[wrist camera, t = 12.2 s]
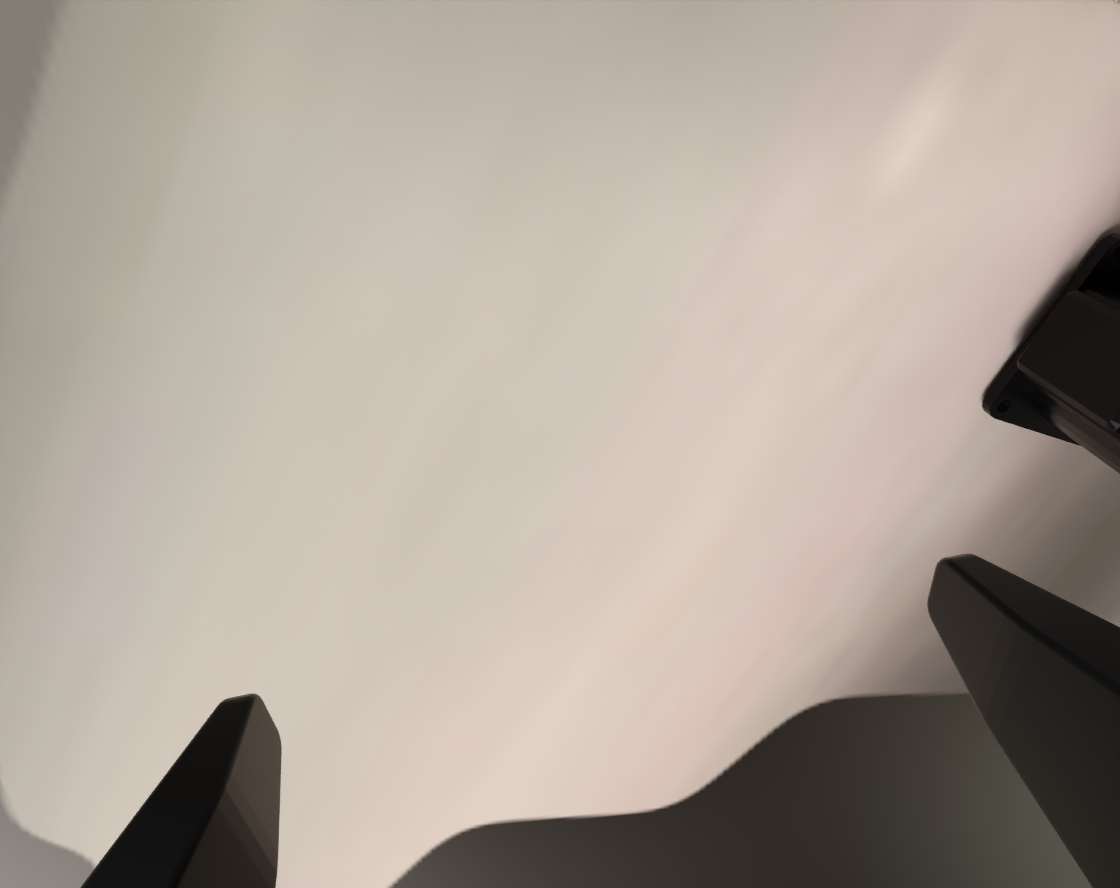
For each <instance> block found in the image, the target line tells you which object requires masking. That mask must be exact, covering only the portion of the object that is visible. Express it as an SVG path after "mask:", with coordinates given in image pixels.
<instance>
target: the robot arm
mask: <svg viewBox="0 0 1120 888" xmlns="http://www.w3.org/2000/svg"><path fill="white" fill-rule="evenodd" d="M1116 248H1117V249H1116ZM1115 249H1116V251H1115V253H1114V254H1112V253H1113V251H1114V250H1115ZM1001 401H1002V402H1001ZM1000 402H1001V403H1000ZM999 403H1000V404H999ZM998 404H999V405H998ZM982 407H983V409H984V411H985V412H987V413H988V414H989V415H991V416H992V417H993V418H995V419H998V420H1001V421H1005V422H1008V423H1011V424H1014V425H1017V426H1020V427H1023V428H1027V429H1030V430H1033V431H1036V432H1039V433H1042V434H1045V435H1048V436H1052V437H1055V438H1058V439H1061V440H1064V441H1067V442H1070V443H1073V444H1077V445H1080V446H1082V447H1084V448H1085V449H1087V450H1088V451H1089V452H1091V453H1092V454H1093V455H1095V456H1096V457H1097V458H1099V459H1100V460H1102V461H1103V462H1104V463H1106V464H1107V465H1108V466H1110V467H1111V468H1113V469H1114V470H1115V471H1117V472H1118V473H1119V474H1120V234H1116V233H1115V234H1112V235H1109V236H1107V237H1106V238H1104V239H1103V240H1102V241H1101V242H1100V243H1099V244H1098V245H1097V247H1096V248H1095V249H1094V251H1093V252H1092V253H1091V255H1090V256H1089V257H1088V259H1087V260H1086V262H1085V263H1084V264H1083V266H1082V267H1081V268H1080V270H1079V271H1078V272H1077V274H1076V275H1075V276H1074V278H1073V279H1072V280H1071V282H1070V283H1069V284H1068V286H1067V287H1066V289H1065V290H1064V291H1063V293H1062V294H1061V295H1060V297H1059V298H1058V299H1057V301H1056V302H1055V303H1054V305H1053V306H1052V307H1051V309H1050V310H1049V312H1048V313H1047V314H1046V316H1045V317H1044V318H1043V320H1042V321H1041V322H1040V324H1039V325H1038V326H1037V328H1036V329H1035V330H1034V332H1033V333H1032V335H1031V336H1030V337H1029V339H1028V340H1027V341H1026V343H1025V344H1024V345H1023V347H1022V348H1021V349H1020V351H1019V352H1018V353H1017V355H1016V356H1015V357H1014V359H1013V360H1012V362H1011V363H1010V364H1009V366H1008V367H1007V368H1006V370H1005V371H1004V372H1003V374H1002V375H1001V376H1000V378H999V379H998V380H997V382H996V383H995V385H994V386H993V387H992V389H991V390H990V391H989V393H988V394H987V395H986V397H985V399H984V400H983V405H982ZM928 612H929V615H930V618H931V620H932V622H933V624H934V626H935V628H936V630H937V632H938V634H939V636H940V637H941V639H942V641H943V643H944V645H945V647H946V649H947V651H948V653H949V655H950V657H951V659H952V661H953V663H954V665H955V667H956V668H957V670H958V672H959V674H960V676H961V678H962V680H963V682H964V684H965V686H966V688H967V690H968V692H969V694H970V696H971V697H972V699H973V701H974V703H975V705H976V707H977V709H978V710H979V712H980V714H981V716H982V717H983V719H984V721H985V723H986V724H987V726H988V728H989V729H990V731H991V732H992V734H993V736H994V737H995V739H996V740H997V742H998V743H999V745H1000V746H1001V748H1002V749H1003V751H1004V753H1005V754H1006V755H1007V757H1008V759H1009V760H1010V762H1011V763H1012V765H1013V766H1014V768H1015V769H1016V771H1017V772H1018V774H1019V775H1020V777H1021V779H1022V780H1023V782H1024V783H1025V784H1026V786H1027V787H1028V789H1029V791H1030V792H1031V794H1032V795H1033V797H1034V798H1035V800H1036V801H1037V803H1038V805H1039V806H1040V808H1041V809H1042V811H1043V812H1044V814H1045V815H1046V817H1047V818H1048V820H1049V821H1050V823H1051V824H1052V826H1053V828H1054V829H1055V831H1056V832H1057V834H1058V835H1059V837H1060V838H1061V840H1062V841H1063V843H1064V844H1065V846H1066V847H1067V849H1068V850H1069V852H1070V854H1071V855H1072V856H1073V858H1074V860H1075V861H1076V863H1077V864H1078V866H1079V867H1080V869H1081V870H1082V872H1083V873H1084V875H1085V876H1086V878H1087V880H1088V881H1089V883H1090V884H1091V886H1092V887H1093V888H1120V627H1118V626H1116V625H1114V624H1112V623H1110V622H1108V621H1106V620H1104V619H1102V618H1100V617H1098V616H1096V615H1094V614H1092V613H1090V612H1088V611H1086V610H1084V609H1082V608H1080V607H1078V606H1076V605H1074V604H1072V603H1070V602H1068V601H1066V600H1064V599H1062V598H1060V597H1058V596H1056V595H1054V594H1052V593H1050V592H1048V591H1046V590H1044V589H1042V588H1040V587H1038V586H1036V585H1034V584H1032V583H1030V582H1028V581H1026V580H1024V579H1022V578H1020V577H1018V576H1016V575H1014V574H1012V573H1010V572H1008V571H1006V570H1004V569H1002V568H1000V567H998V566H996V565H994V564H992V563H990V562H988V561H986V560H984V559H982V558H980V557H978V556H976V555H973V554H961V555H956V556H951V557H946V558H943V559H941V560H940V561H939V562H938V563H937V565H936V568H935V572H934V576H933V580H932V584H931V588H930V592H929V596H928ZM280 782H281V740H280V735H279V732H278V730H277V728H276V726H275V724H274V722H273V720H272V718H271V716H270V714H269V712H268V710H267V708H266V706H265V704H264V702H263V700H262V699H261V697H260V696H258V695H257V694H247V695H242V696H237V697H232V698H228V699H225V700H223V701H222V702H221V703H220V704H219V705H218V706H217V707H216V709H215V710H214V711H213V713H212V714H211V715H210V717H209V718H208V719H207V721H206V722H205V723H204V725H203V726H202V727H201V729H200V730H199V731H198V733H197V734H196V735H195V737H194V738H193V739H192V740H191V742H190V743H189V744H188V746H187V747H186V748H185V750H184V751H183V752H182V754H181V755H180V756H179V758H178V759H177V760H176V762H175V763H174V764H173V766H172V767H171V768H170V770H169V771H168V772H167V774H166V775H165V776H164V778H163V779H162V780H161V782H160V783H159V784H158V786H157V787H156V788H155V790H154V791H153V792H152V793H151V795H150V796H149V797H148V799H147V800H146V801H145V803H144V804H143V805H142V807H141V808H140V809H139V811H138V812H137V813H136V815H135V816H134V817H133V819H132V820H131V821H130V823H129V824H128V825H127V827H126V828H125V829H124V831H123V832H122V833H121V835H120V836H119V837H118V839H117V840H116V841H115V842H114V844H113V845H112V846H111V848H110V849H109V850H108V852H107V853H106V854H105V856H104V857H103V858H102V860H101V861H100V862H99V864H98V865H97V866H96V868H95V869H94V870H93V872H92V873H91V874H90V876H89V877H88V878H87V880H86V881H85V882H84V884H83V885H82V886H81V888H275V886H276V878H277V865H278V843H279V813H280Z"/></svg>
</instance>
